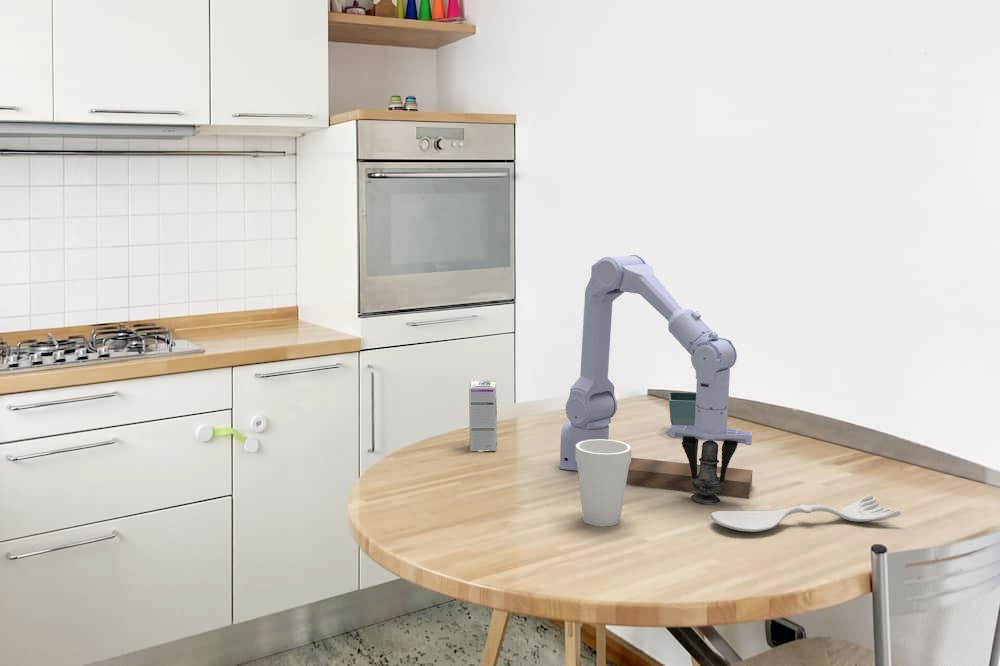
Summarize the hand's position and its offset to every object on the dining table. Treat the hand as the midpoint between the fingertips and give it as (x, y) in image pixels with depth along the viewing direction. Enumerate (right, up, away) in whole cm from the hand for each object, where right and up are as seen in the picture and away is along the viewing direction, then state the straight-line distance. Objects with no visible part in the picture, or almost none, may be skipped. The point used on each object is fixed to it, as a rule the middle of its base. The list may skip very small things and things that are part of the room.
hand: (708, 478), depth 171 cm
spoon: (+13, -6, -11) cm, 18 cm away
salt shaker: (0, -4, +1) cm, 4 cm away
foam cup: (-21, -6, -10) cm, 24 cm away
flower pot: (+5, +3, +46) cm, 46 cm away
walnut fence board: (-2, -3, +9) cm, 10 cm away
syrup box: (-42, +1, +33) cm, 53 cm away
